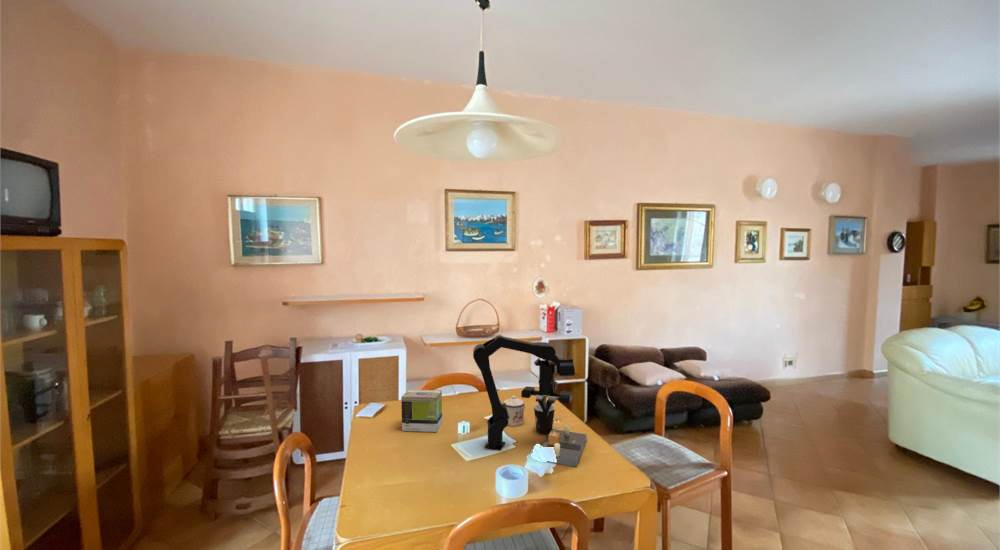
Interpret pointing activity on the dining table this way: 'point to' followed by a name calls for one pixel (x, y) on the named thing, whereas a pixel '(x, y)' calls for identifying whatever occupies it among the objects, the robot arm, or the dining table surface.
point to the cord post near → (557, 449)
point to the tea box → (422, 410)
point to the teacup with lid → (515, 411)
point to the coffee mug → (543, 420)
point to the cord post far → (566, 430)
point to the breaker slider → (554, 438)
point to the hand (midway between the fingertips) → (546, 416)
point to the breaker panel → (568, 447)
